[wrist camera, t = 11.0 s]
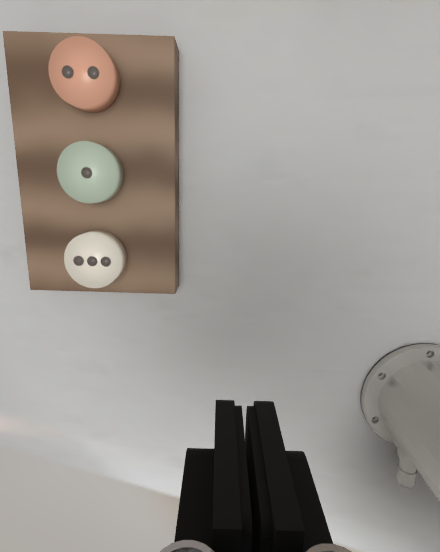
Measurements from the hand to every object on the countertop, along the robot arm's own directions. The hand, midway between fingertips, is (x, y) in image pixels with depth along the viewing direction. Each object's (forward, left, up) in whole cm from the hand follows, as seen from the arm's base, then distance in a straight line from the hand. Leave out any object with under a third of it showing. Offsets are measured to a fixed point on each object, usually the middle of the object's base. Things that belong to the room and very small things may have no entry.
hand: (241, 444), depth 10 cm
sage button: (+8, +12, -24) cm, 28 cm away
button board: (+8, +12, -27) cm, 31 cm away
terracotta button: (+15, +12, -24) cm, 31 cm away
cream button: (0, +12, -24) cm, 27 cm away
